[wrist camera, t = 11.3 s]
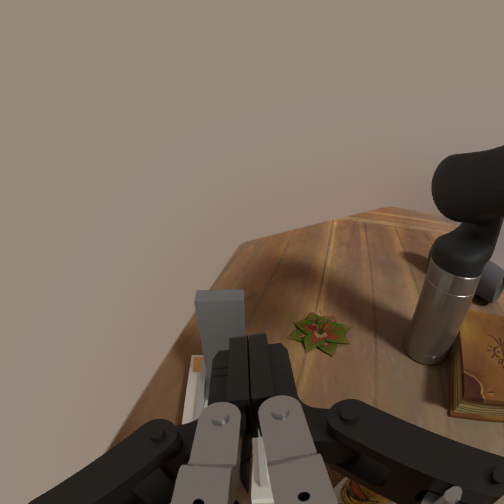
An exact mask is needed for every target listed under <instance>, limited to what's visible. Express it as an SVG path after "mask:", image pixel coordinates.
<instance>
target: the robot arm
mask: <svg viewBox="0 0 504 504" xmlns="http://www.w3.org/2000/svg"><path fill="white" fill-rule="evenodd" d="M432 196H433V200H434V202H435V204H436V206H437V208H438V210H439V211H440V212H441V213H442V214H443V215H444V216H445V217H447V218H449V219H450V220H453V221H457V222H462V223H461V225H460V226H459V227H458V228H456V229H455V230H453V231H451V232H449V233H447V234H445V235H442V236H440V237H439V238H437V240H436V241H435V243H434V246H433V250H432V254H431V258H430V262H429V266H428V269H427V273H426V277H425V280H424V284H423V287H422V291H421V294H420V297H419V300H418V303H417V306H416V309H415V312H414V315H413V318H412V321H411V323H410V326H409V329H408V332H407V334H406V337H405V340H404V348H405V351H406V352H407V354H408V355H409V356H410V357H411V358H412V359H414V360H415V361H417V362H419V363H422V364H426V365H436V364H439V363H441V362H442V361H443V360H444V359H445V358H446V356H447V354H448V352H449V350H450V348H451V346H452V344H453V343H454V341H455V339H456V336H457V334H458V332H459V330H460V328H461V326H462V323H463V321H464V319H465V317H466V314H467V312H468V309H469V307H470V305H471V302H472V299H473V297H474V294H475V292H476V289H477V286H478V283H479V280H480V277H481V274H482V271H483V269H484V266H485V265H486V263H487V262H488V261H489V260H490V258H491V256H492V254H493V251H494V249H495V245H496V242H497V239H498V236H499V233H500V229H501V226H502V223H503V219H504V145H503V146H501V147H497V148H494V149H491V150H487V151H481V152H472V153H464V154H455V155H451V156H448V157H447V158H445V159H444V160H443V161H442V162H441V163H440V164H439V165H438V167H437V169H436V171H435V173H434V176H433V179H432ZM258 429H259V433H260V437H262V438H263V443H264V449H265V454H266V460H267V468H268V474H269V479H270V484H271V490H272V495H273V500H274V504H341V503H338V502H337V499H336V496H335V493H334V490H333V487H332V484H331V481H330V478H329V476H328V473H327V470H326V467H325V464H324V463H326V464H327V465H328V466H329V467H330V468H332V469H334V470H335V471H337V472H339V473H340V474H342V475H344V476H345V477H347V478H349V479H351V480H352V481H354V482H356V483H358V484H360V485H361V486H363V487H365V488H367V489H369V490H371V491H373V492H375V493H377V494H379V495H381V496H383V497H385V498H387V499H389V500H391V501H393V502H395V503H397V504H493V503H494V502H496V501H497V500H498V499H500V498H501V497H502V496H503V495H504V457H502V456H499V455H496V454H492V453H489V452H486V451H483V450H480V449H477V448H474V447H471V446H468V445H465V444H462V443H459V442H457V441H454V440H451V439H448V438H446V437H443V436H441V435H438V434H435V433H433V432H430V431H428V430H425V429H423V428H420V427H418V426H416V425H413V424H411V423H408V422H406V421H404V420H401V419H399V418H397V417H395V416H392V415H390V414H388V413H386V412H383V411H381V410H379V409H377V408H375V407H373V406H370V405H368V404H366V403H364V402H362V401H359V400H356V399H346V400H342V401H339V402H337V403H336V404H334V405H333V406H332V407H331V408H330V409H321V408H313V407H310V406H307V405H305V404H304V403H303V402H301V400H300V399H299V397H298V395H297V391H296V386H295V382H294V377H293V373H292V368H291V363H290V359H289V354H288V350H287V349H286V348H285V347H284V346H283V345H282V344H281V343H276V344H269V345H268V342H267V336H266V333H261V334H254V335H249V340H248V336H239V337H231V338H230V339H229V350H222V351H218V352H217V354H216V355H215V357H214V358H213V360H212V370H211V378H210V387H209V396H208V405H207V407H206V408H204V409H203V410H202V412H201V413H200V415H199V418H198V419H196V420H194V421H192V422H189V423H186V424H182V425H179V426H175V425H174V424H173V423H172V422H170V421H168V420H164V419H155V420H152V421H149V422H147V423H146V424H144V425H143V426H142V427H140V428H139V429H138V430H136V431H135V432H134V433H132V434H131V435H130V436H128V437H127V438H126V439H124V440H123V441H121V442H120V443H119V444H117V445H116V446H115V447H113V448H112V449H110V450H109V451H108V452H106V453H105V454H103V455H102V456H101V457H99V458H98V459H96V460H95V461H93V462H92V463H91V464H89V465H88V466H86V467H85V468H83V469H82V470H80V471H79V472H77V473H76V474H74V475H73V476H71V477H70V478H68V479H66V480H65V481H63V482H62V483H60V484H59V485H57V486H55V487H54V488H52V489H51V490H49V491H47V492H46V493H44V494H42V495H41V496H39V497H37V498H36V499H34V500H32V501H31V502H29V503H28V504H169V503H170V502H171V504H252V500H251V486H252V466H253V452H252V451H253V444H252V438H257V437H259V434H258Z"/></svg>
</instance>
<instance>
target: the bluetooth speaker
mask: <svg viewBox="0 0 504 504" xmlns="http://www.w3.org/2000/svg"><path fill="white" fill-rule="evenodd" d="M438 238H439V237H438ZM436 240H437V239H436ZM436 240H435V241H436ZM434 243H435V242H434ZM434 243H433V245H432V247H431V250H430V252H429V256H428V260H429V262H430V258H431V254H432V250H433V246H434ZM503 289H504V270H503V269H502V268H500V267H499V266H497V265H496V264H494V263H493V262H491V261H490V260H489V261H488V262H487V263H486V265H485V266H484V269H483V271H482V274H481V277H480V280H479V283H478V286H477V289H476V292H475V294H474V296H475V295H478V296H480V297H482V298H483V299H485V300H487V301H489V302H491V303H494V302H495V301H497V300H498V298H499V297H500V295H501V293H502V291H503Z"/></svg>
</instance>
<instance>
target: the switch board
mask: <svg viewBox="0 0 504 504" xmlns="http://www.w3.org/2000/svg"><path fill="white" fill-rule="evenodd" d="M206 383H207V372H206V367H205V362H204V356H203V355H192V356H191V363H190V369H189V376H188V383H187V390H186V397H185V405H184V412H183V420H182V424H186V423H189V422H192V421H194V420H196V419H198V418H199V415H200V413H201V412H202V410H203V409H204V408H206V407H207V405H208V400H207V399H206ZM258 434H259V437H257V438H252V444H253V451H252V452H253V466H252V486H251V500H252V504H274V500H273V495H272V490H271V484H270V479H269V474H268V468H267V460H266V454H265V449H264V443H263V438H262V437H260V433H259V429H258Z"/></svg>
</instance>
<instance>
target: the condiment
mask: <svg viewBox="0 0 504 504" xmlns="http://www.w3.org/2000/svg"><path fill="white" fill-rule="evenodd" d="M333 490H334V493H335V496H336V499H337V502H338V503H341V504H391V503H392V502H393V501H391V500H389V499H387V498H385V497H383V496H381V495H379V494H377V493H375V492H373V491H371V490H369V489H367V488H365V487H363V486H361V485H360V484H358V483H356V482H354V481H352V480H351V479H349V478H347V477H345V478H344V479H343V480H342V481H341V482H340V483H339V484H338V485H337V486H336V487H335V488H334V489H333Z"/></svg>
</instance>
